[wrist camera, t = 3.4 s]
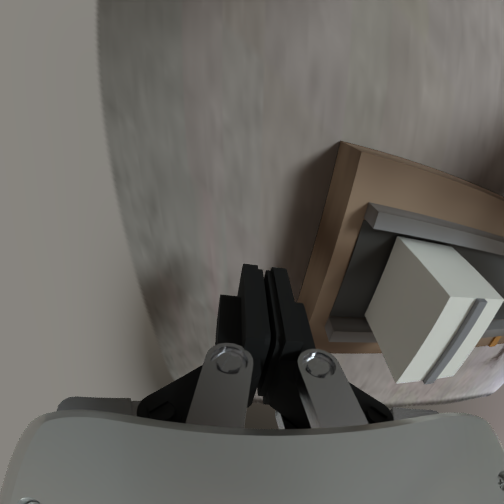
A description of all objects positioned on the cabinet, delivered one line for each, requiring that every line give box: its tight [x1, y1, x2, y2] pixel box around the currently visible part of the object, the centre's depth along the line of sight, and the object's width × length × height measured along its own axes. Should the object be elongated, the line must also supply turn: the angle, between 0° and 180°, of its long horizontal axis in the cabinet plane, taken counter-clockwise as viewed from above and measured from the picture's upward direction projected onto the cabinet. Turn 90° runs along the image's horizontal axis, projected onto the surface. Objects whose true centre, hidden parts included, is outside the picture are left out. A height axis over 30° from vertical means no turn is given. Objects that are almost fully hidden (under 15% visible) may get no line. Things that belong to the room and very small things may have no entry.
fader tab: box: [365, 236, 504, 384], centre depth 13 cm, size 5×4×5 cm
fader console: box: [297, 141, 504, 353], centre depth 17 cm, size 12×26×4 cm, turn 81°
